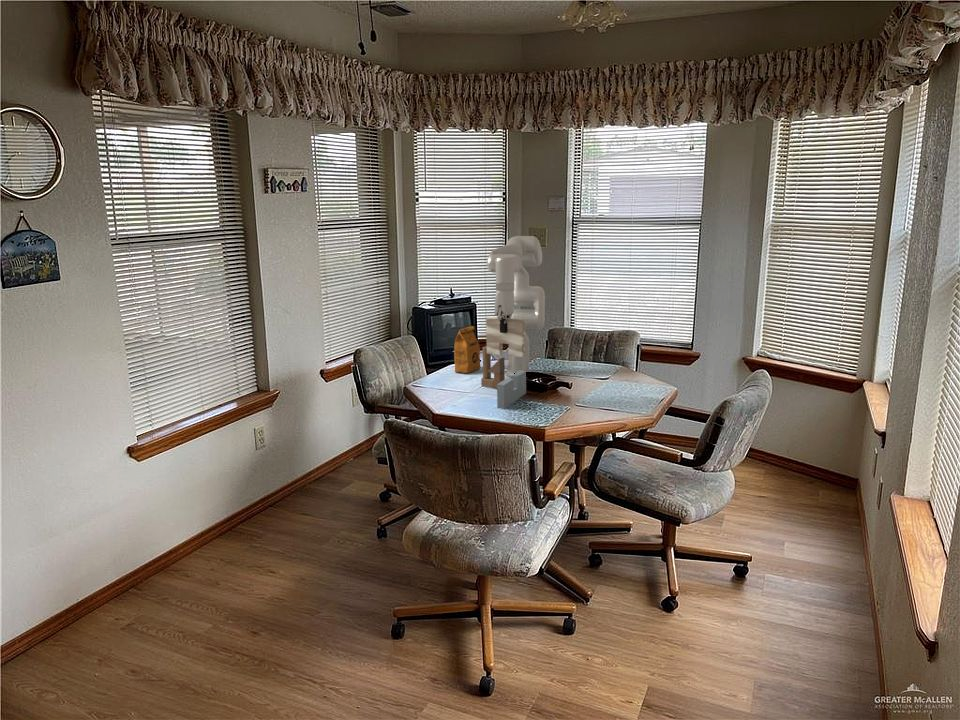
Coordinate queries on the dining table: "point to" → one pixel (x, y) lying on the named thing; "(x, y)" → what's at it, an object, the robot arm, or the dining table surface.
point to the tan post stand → (492, 370)
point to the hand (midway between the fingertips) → (505, 331)
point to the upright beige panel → (505, 336)
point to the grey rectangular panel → (511, 389)
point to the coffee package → (466, 351)
